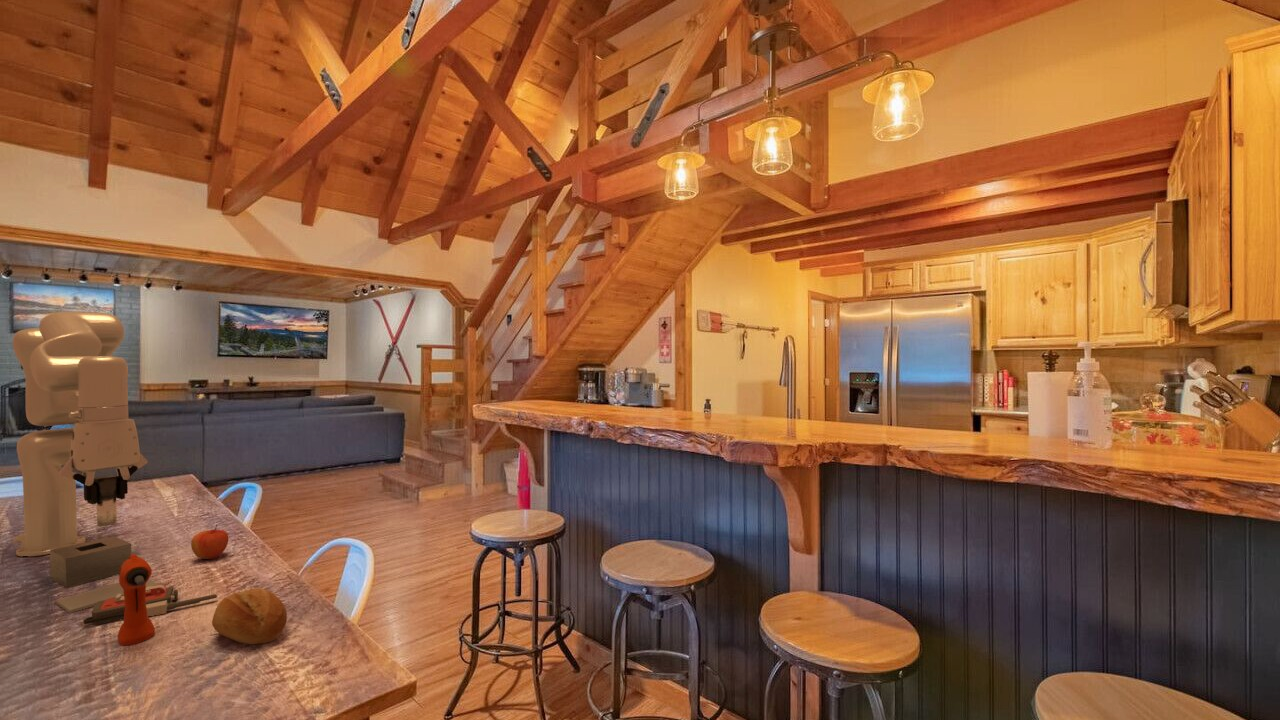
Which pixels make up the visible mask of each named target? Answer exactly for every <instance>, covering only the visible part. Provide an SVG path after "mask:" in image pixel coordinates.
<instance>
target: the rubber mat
mask: <svg viewBox="0 0 1280 720" xmlns="http://www.w3.org/2000/svg"><path fill="white" fill-rule="evenodd" d="M159 584H160V583H158V582H155V581H154V580H151V579H150V578H149V580H148V581H147V583H146V587H149V586H150V587H151V586H154V585H159ZM117 594H121V596H124V590H123V588H122V587H121V585H120V584H119V582H117V583H113V584H110V585H107V586H103V587H98V588H94V589H92V590H88V591H84V592H80V593H78V594H77V593H76V594H73V595H69V596H67V597H63V598H58V599H56V600H54V604H55V605H57V606H58V605H59V606H58V607H60V608H61V607H62V608H61V609H63V610H64V609H65V610H64V611H66V612H67V613H68V612H69V613H68V614H72V612H73V613H75V611H76V612H79V610H80V611H82V609H83V610H86V609H89V608H88V607H90V608H94V607H95V605H96V604H97V602H98V601H103V600H108V599H113V598H116V596H117ZM121 596H120V597H121ZM85 608H86V609H85Z"/></svg>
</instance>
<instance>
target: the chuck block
mask: <svg viewBox="0 0 1280 720" xmlns="http://www.w3.org/2000/svg"><path fill="white" fill-rule="evenodd" d="M130 555H132V543H131V542H128V541H126V540H124V539H121V538H119V537H116V536H115V535H113V536H109V537H103V538H99V539H94V540H89V541H85V543H80V544H76V545H71V546H67V547H62V548H58V549H53V550H50V554H49V564H50V579H51V580H53V581H54V582H56V583H58V584H59V585H60V586H62V587H63V588H65V589H68V588H72V587H76V586H80V585H84V584H87V583H91V582H95V581H99V580H101V579H102V580H103V579H106V578H110V577H113V575H114V576H117V574H118V575H120V568H121V566H122V564H123V563H124V562H125V561H126V560H127V559H129V558H130Z"/></svg>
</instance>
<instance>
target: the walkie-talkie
mask: <svg viewBox="0 0 1280 720" xmlns="http://www.w3.org/2000/svg"><path fill="white" fill-rule="evenodd" d="M158 584H159V585H154V586H151V587H150V586H149V587H146V597H145V601H146V608H147V615H148V616H152V617H155V616H154V615H156V616H160V614H162V615H166V614H167V611H171V610H174V609H176V608H181V607H185V606H190V605H195V604H199V603H201V602H203V601H209V600H213V599H217V598H218V595H217V594H210V595H209V594H208V595H205V596H200V597H195V598H194V597H193V598H191V599H185V600H181V601H176V600H178V598H179V597H178V596H179V594H178V593H179V592H178V591H179V590H178V588H177V589H174V587H173V586H169V587H166V585H165V584H161V583H158ZM120 596H121V594H117V596H116V598H113V599H108V600H103V601H98V602H97V604H96V605H95V606H93V607H92V608H93V609H92V610H91V614H92V615H91V616H90V617H86V618H84V619H83V620H82V621H83V624H84V625H90V624H92V625H93V626H98V625H102V624H101V623H103V624H106V623H105V622H108V623H111V622H110V621H113V622H116V620H117V621H121V620H120V619H122V620H124V612H125V600H124V596H121V597H120ZM172 601H173V602H172ZM165 613H166V614H165Z"/></svg>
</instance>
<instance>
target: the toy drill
mask: <svg viewBox="0 0 1280 720" xmlns="http://www.w3.org/2000/svg"><path fill="white" fill-rule="evenodd" d="M152 573H153V571H152V567H151V565H150V564H149V563H148V562H147V561H146V559H144V558H142V557H139V556H138V555H137V553H131V555H130V558H129V559H127V560H126V561H125V562H124V563H123V564H122V566H121V568H120V574H118V577H119V578H118V583H119V584H120V585H121V587H122V588H123V590H124V600H125V612H124V619H123V623H122V624H121V625H120V627H119V629H118V630H119V631H118V633H117V640H118V641H117V642H118V644H119V645H121V646H130V645H134V644H135V645H136V644H138V643H142V642H144V640H145V641H147V640H149V639H151V638H152V637H154V635H155V632H156V630H155V629H156V628H155V626H154V623H153V621H152V620H151V619H150V617H148V615H147V608H146V601H145V597H146V592H147V591H146V583H147V581H148V580H149V579H150V578H151V576H152Z"/></svg>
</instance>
